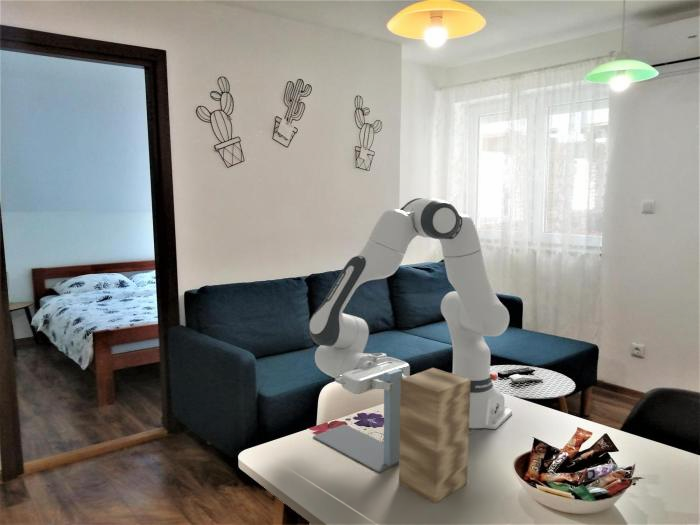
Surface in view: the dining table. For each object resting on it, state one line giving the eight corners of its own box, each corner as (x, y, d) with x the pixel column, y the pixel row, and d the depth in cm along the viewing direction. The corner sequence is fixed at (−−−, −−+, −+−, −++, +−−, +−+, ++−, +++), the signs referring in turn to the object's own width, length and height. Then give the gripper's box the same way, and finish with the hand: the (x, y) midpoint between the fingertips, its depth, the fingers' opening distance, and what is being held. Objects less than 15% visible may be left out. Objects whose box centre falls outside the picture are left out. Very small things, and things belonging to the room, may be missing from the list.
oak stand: (430, 466, 137) (433, 367, 134) (466, 483, 129) (470, 379, 126) (398, 483, 129) (400, 378, 126) (435, 503, 121) (438, 392, 118)
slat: (396, 368, 138) (402, 370, 136) (395, 457, 141) (401, 460, 139) (384, 372, 135) (390, 374, 133) (383, 463, 138) (389, 466, 136)
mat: (344, 425, 161) (344, 424, 161) (411, 457, 142) (411, 455, 142) (313, 437, 153) (313, 436, 153) (379, 473, 134) (379, 471, 134)
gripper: (331, 367, 137) (369, 381, 127) (386, 351, 151) (425, 363, 141) (331, 391, 138) (369, 407, 128) (386, 373, 152) (424, 386, 142)
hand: (399, 384), depth 134 cm, fingers closed on slat, 4 cm apart
